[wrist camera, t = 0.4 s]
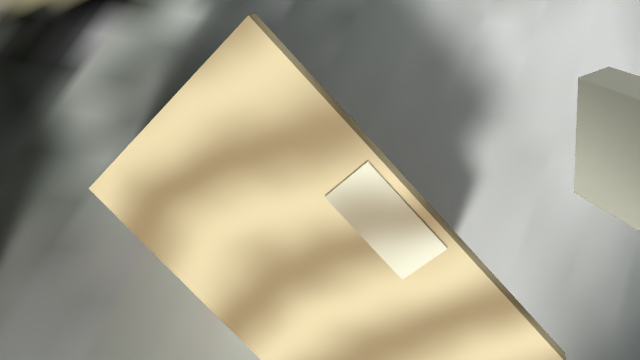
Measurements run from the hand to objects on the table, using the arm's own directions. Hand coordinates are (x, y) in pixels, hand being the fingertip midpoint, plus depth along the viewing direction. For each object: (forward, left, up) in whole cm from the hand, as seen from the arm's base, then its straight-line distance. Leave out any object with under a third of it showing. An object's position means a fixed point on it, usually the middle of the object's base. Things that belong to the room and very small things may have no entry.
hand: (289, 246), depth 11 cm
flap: (-6, -4, -21) cm, 22 cm away
